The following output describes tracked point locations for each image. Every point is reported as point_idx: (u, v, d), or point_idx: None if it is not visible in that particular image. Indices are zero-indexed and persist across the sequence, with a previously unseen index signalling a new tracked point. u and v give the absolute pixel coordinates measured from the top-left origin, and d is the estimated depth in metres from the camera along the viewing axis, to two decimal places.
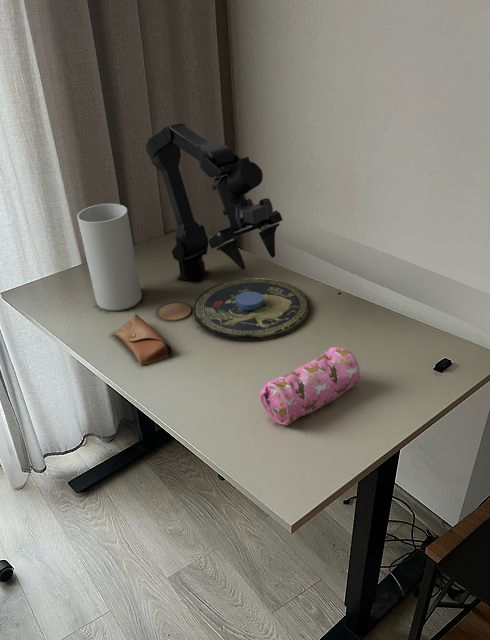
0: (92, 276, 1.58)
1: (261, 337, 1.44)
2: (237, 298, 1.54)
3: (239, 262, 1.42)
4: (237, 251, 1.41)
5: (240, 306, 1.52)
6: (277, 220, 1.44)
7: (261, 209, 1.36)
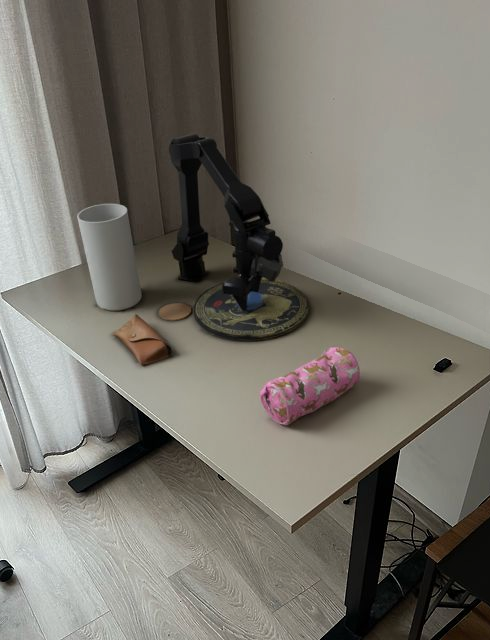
0: (92, 276, 1.58)
1: (261, 337, 1.44)
2: None
3: (243, 305, 1.50)
4: (247, 297, 1.48)
5: None
6: None
7: (280, 269, 1.45)
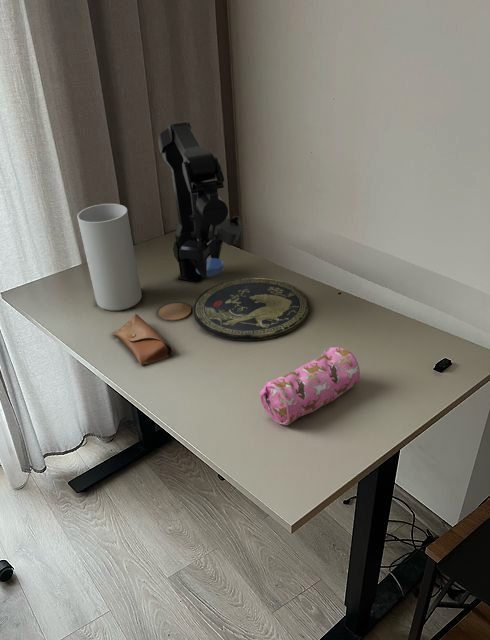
0: (92, 276, 1.58)
1: (261, 337, 1.44)
2: None
3: (202, 271, 1.46)
4: (205, 262, 1.44)
5: None
6: None
7: (239, 232, 1.41)
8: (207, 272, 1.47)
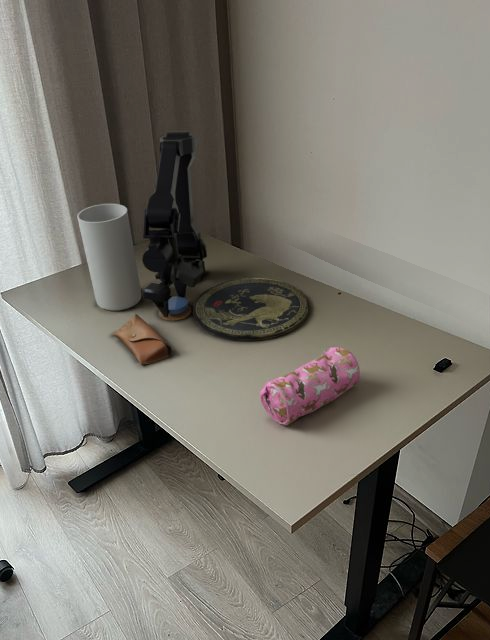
0: (92, 276, 1.58)
1: (261, 337, 1.44)
2: None
3: (165, 312, 1.53)
4: (167, 304, 1.51)
5: None
6: None
7: (199, 275, 1.49)
8: (171, 311, 1.55)
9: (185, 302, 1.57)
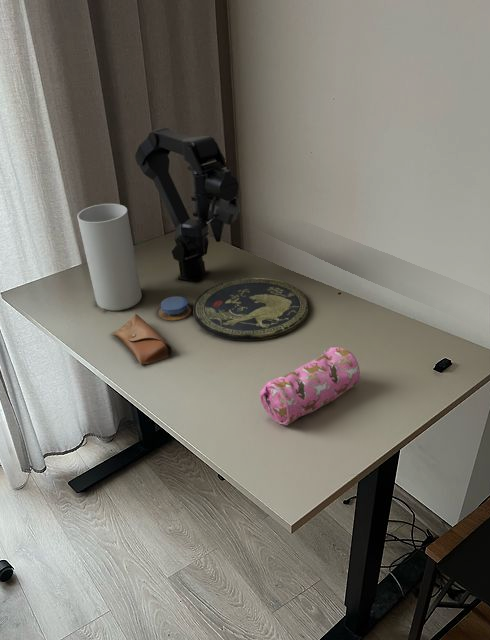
0: (92, 276, 1.58)
1: (261, 337, 1.44)
2: (162, 303, 1.57)
3: (201, 250, 1.56)
4: (203, 241, 1.54)
5: (164, 311, 1.56)
6: None
7: (236, 212, 1.51)
8: (171, 311, 1.55)
9: (185, 302, 1.57)
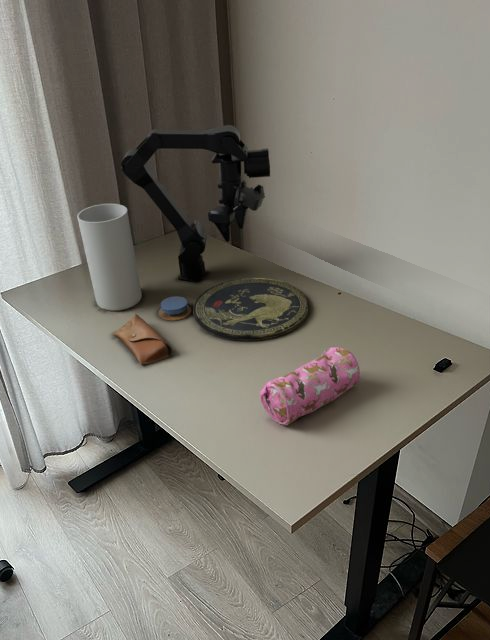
0: (92, 276, 1.58)
1: (261, 337, 1.44)
2: (162, 303, 1.57)
3: (227, 236, 1.62)
4: (230, 227, 1.60)
5: (164, 311, 1.56)
6: None
7: (261, 199, 1.57)
8: (171, 311, 1.55)
9: (185, 302, 1.57)
